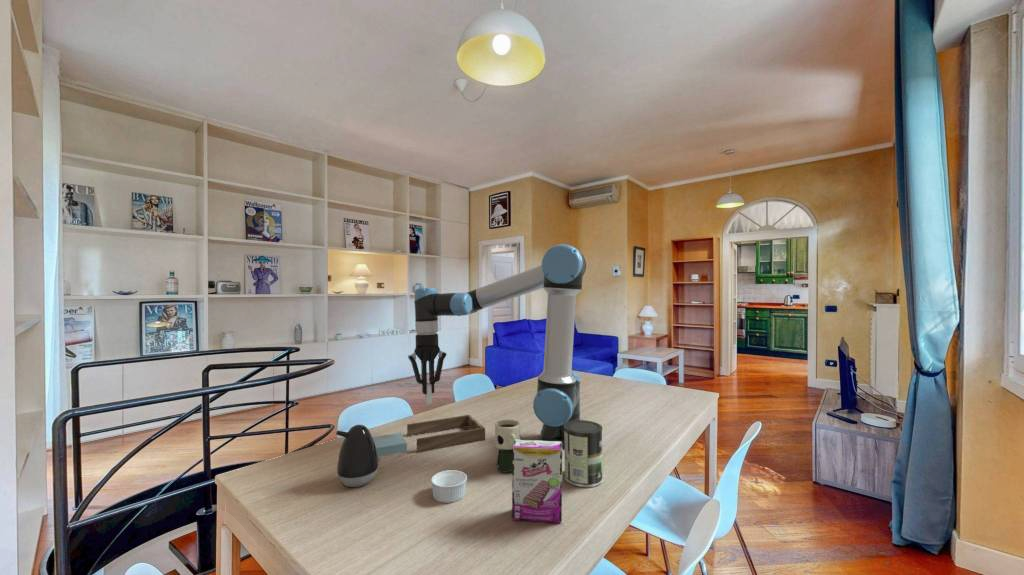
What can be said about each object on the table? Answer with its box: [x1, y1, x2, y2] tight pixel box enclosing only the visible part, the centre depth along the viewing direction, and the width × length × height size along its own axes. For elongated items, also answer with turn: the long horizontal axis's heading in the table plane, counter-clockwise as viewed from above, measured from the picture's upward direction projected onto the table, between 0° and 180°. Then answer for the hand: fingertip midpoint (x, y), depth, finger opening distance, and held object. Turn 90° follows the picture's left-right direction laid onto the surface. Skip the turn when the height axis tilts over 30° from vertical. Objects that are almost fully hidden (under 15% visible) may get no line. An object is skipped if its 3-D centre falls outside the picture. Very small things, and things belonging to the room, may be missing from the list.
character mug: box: [494, 419, 521, 473], centre depth 111 cm, size 11×7×13 cm, turn 22°
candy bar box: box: [511, 439, 563, 524], centre depth 88 cm, size 11×5×16 cm, turn 84°
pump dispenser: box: [335, 424, 379, 488], centre depth 104 cm, size 10×10×15 cm
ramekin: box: [430, 469, 468, 504], centre depth 97 cm, size 9×9×4 cm
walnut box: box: [406, 414, 486, 453], centre depth 135 cm, size 16×23×4 cm
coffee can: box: [564, 419, 604, 488], centre depth 105 cm, size 10×10×14 cm
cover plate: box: [372, 432, 408, 457], centre depth 126 cm, size 10×11×3 cm
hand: (428, 403), depth 132 cm, fingers closed
